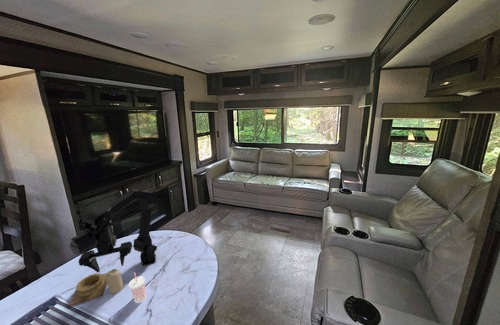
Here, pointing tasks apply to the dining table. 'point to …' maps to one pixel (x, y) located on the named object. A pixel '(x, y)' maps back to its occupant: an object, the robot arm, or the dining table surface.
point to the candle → (114, 281)
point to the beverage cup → (138, 288)
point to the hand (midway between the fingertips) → (111, 268)
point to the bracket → (89, 288)
